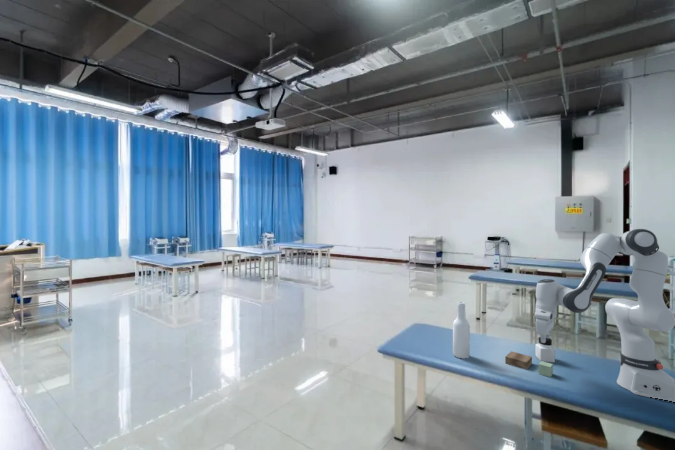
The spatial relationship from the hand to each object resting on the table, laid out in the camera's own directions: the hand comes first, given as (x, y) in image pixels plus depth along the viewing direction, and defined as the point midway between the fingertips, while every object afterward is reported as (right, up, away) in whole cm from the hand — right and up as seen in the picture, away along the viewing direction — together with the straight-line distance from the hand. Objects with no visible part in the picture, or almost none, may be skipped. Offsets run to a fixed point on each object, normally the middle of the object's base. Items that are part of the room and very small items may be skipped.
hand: (545, 340), depth 157 cm
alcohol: (-34, -17, +21) cm, 43 cm away
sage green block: (0, -17, 0) cm, 17 cm away
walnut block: (-6, -17, +12) cm, 22 cm away
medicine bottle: (+11, -17, +17) cm, 27 cm away
